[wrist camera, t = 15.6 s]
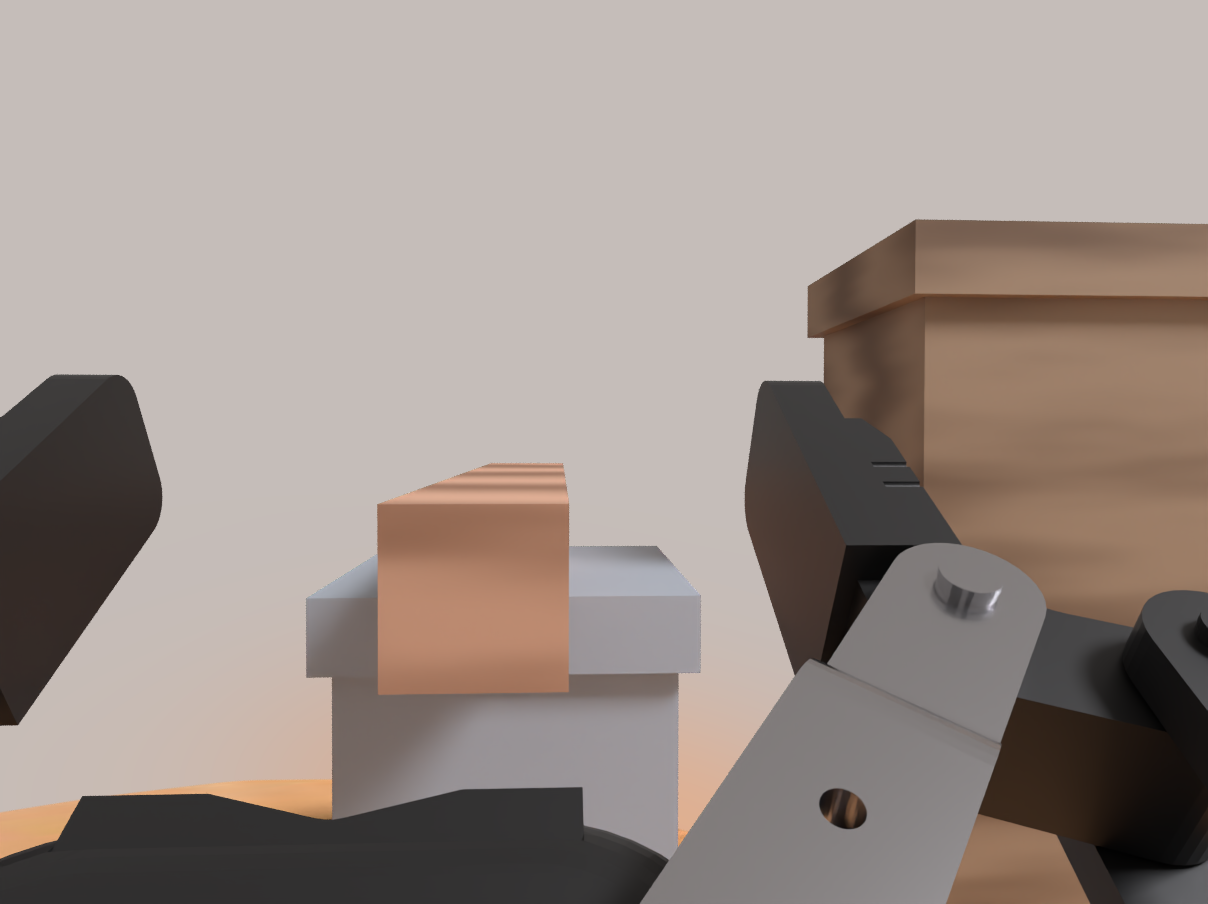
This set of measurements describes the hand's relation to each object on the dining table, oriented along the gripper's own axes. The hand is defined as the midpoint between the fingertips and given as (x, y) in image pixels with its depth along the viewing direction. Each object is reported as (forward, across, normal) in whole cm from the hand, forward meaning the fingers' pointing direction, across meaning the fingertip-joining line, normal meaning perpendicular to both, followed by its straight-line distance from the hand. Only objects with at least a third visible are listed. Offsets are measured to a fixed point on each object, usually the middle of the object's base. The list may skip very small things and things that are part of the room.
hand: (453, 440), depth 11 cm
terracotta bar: (+9, 0, +10) cm, 14 cm away
